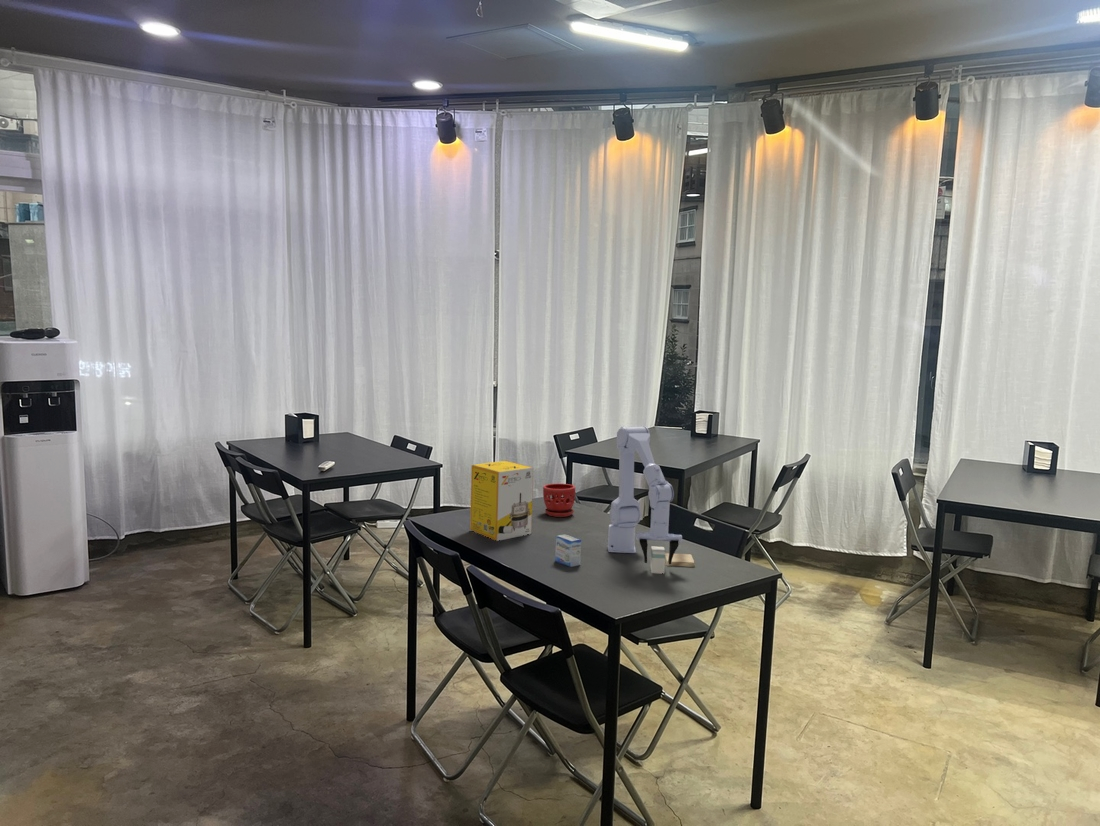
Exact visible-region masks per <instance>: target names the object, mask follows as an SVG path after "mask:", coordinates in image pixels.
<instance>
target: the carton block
mask: <svg viewBox="0 0 1100 826" xmlns="http://www.w3.org/2000/svg"><path fill="white" fill-rule="evenodd" d="M650 548H651V549H650V563H649V564H650V567H649V568H650V572H651V574H662V573H663V574H664V575H665V568H666V567H665V565H666V562H665V553H666V550H665V547H664V546H656V545H655V546H654V545H653V546H652V545H651V547H650Z"/></svg>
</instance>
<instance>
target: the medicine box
mask: <svg viewBox="0 0 1100 826" xmlns="http://www.w3.org/2000/svg"><path fill="white" fill-rule="evenodd" d="M554 552H555V553H554V554H555V557H554V561H555V562H556V563H559V564H562V565H564V566H567V567H570V568H573V567H577V566H580V565H581V555H582V554H581V553H582V539H579V538H576V537H575V536H571V535H568V534H565V533H564V534H559V535H556V537H555V551H554Z"/></svg>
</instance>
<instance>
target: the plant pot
mask: <svg viewBox="0 0 1100 826" xmlns="http://www.w3.org/2000/svg"><path fill="white" fill-rule="evenodd" d="M542 496H543V502H544V505H545V507H546V508H545V509H544V512H545V513H546V515H548V516H549V517H556V518H558V517H559V518H564V517H570V516H571V515H573V513H574V511H575V510H574V509H573V506H574V503H575V498H576V486H575V485H573V484H568V483H550V484H545V485H543V487H542Z"/></svg>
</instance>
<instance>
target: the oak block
mask: <svg viewBox="0 0 1100 826" xmlns="http://www.w3.org/2000/svg"><path fill="white" fill-rule="evenodd" d="M668 558H669V552H665V565H666V566H668V567H669V566H670V567H686V568H688V567H690V568H695V560H694V558H693V556H692V554H690V553H689V554H687V553H674V555H673V558H672V562H671V564H669V563H668Z"/></svg>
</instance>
